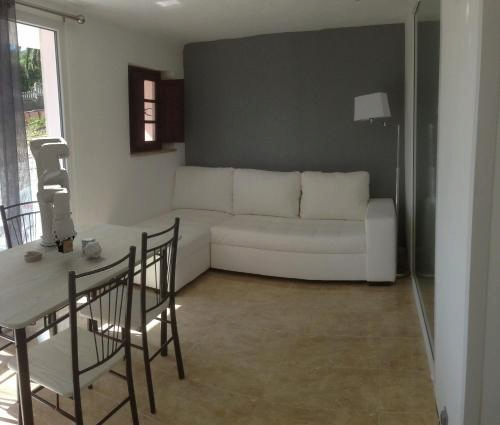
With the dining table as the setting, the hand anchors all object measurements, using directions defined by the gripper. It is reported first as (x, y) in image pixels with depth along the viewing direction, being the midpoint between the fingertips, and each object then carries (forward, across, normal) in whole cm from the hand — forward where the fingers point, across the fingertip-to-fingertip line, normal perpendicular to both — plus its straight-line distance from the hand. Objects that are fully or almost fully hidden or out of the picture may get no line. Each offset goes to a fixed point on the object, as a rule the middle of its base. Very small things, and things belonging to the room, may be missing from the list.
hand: (65, 250), depth 242 cm
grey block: (+5, -18, -4) cm, 19 cm away
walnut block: (+1, 0, 0) cm, 1 cm away
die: (+5, -10, +9) cm, 14 cm away
